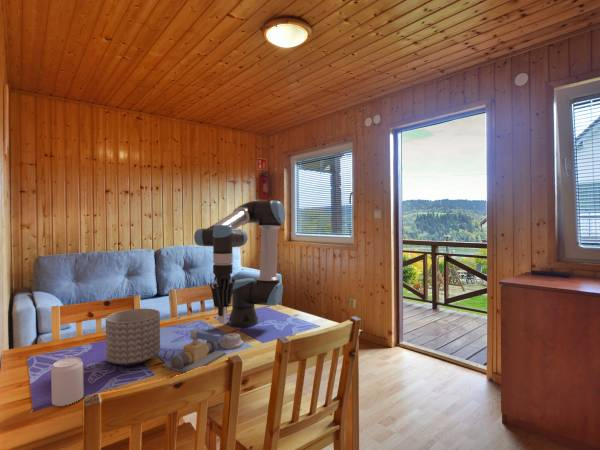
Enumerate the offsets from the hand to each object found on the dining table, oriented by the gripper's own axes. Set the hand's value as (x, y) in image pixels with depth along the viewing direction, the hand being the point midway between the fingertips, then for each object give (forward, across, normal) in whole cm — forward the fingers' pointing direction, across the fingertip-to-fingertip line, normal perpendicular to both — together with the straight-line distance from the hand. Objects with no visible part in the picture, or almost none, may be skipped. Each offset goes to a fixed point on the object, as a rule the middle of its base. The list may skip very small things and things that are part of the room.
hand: (222, 323), depth 138 cm
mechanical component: (+14, -14, -6) cm, 21 cm away
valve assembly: (+14, +6, -9) cm, 18 cm away
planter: (+15, +17, -30) cm, 37 cm away
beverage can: (+15, +46, -23) cm, 53 cm away
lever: (+5, +6, -3) cm, 9 cm away
